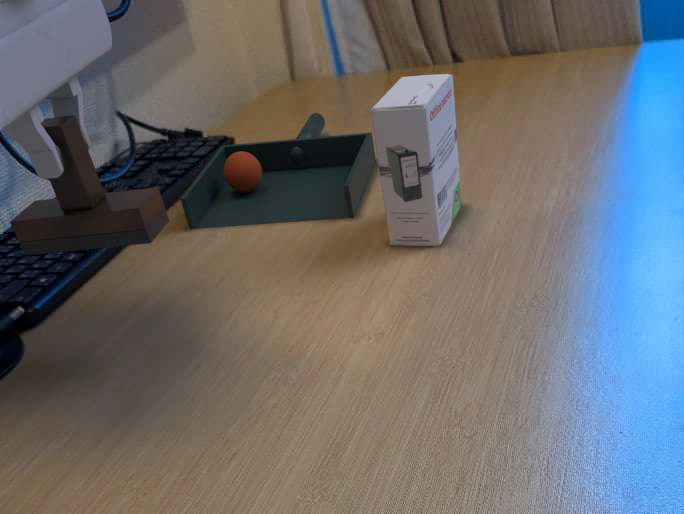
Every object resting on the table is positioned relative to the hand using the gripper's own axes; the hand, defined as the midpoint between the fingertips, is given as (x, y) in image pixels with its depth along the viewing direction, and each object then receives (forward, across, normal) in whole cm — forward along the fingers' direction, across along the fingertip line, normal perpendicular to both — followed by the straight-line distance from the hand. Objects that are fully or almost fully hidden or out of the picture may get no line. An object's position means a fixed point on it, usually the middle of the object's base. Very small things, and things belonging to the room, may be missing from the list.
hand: (66, 164), depth 57 cm
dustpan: (+14, -35, +6) cm, 38 cm away
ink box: (+14, -19, +22) cm, 32 cm away
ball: (+12, -30, +1) cm, 33 cm away
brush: (+5, 0, 0) cm, 5 cm away
